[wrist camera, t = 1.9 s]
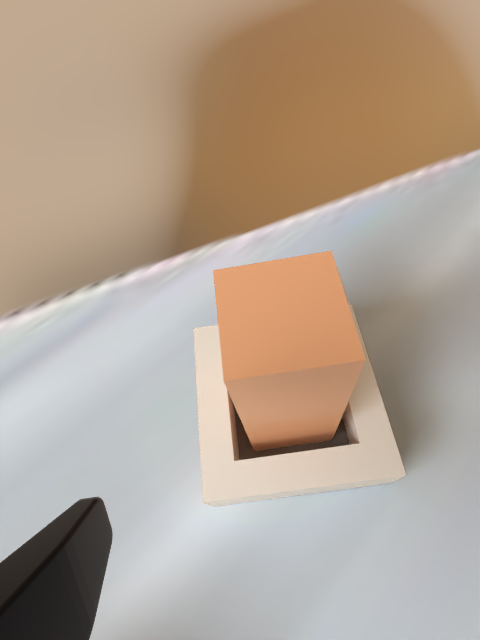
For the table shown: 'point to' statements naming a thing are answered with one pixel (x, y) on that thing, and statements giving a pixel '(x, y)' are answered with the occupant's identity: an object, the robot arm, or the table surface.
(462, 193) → the table surface
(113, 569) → the table surface
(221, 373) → the cream square frame
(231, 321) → the plug
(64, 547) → the robot arm
